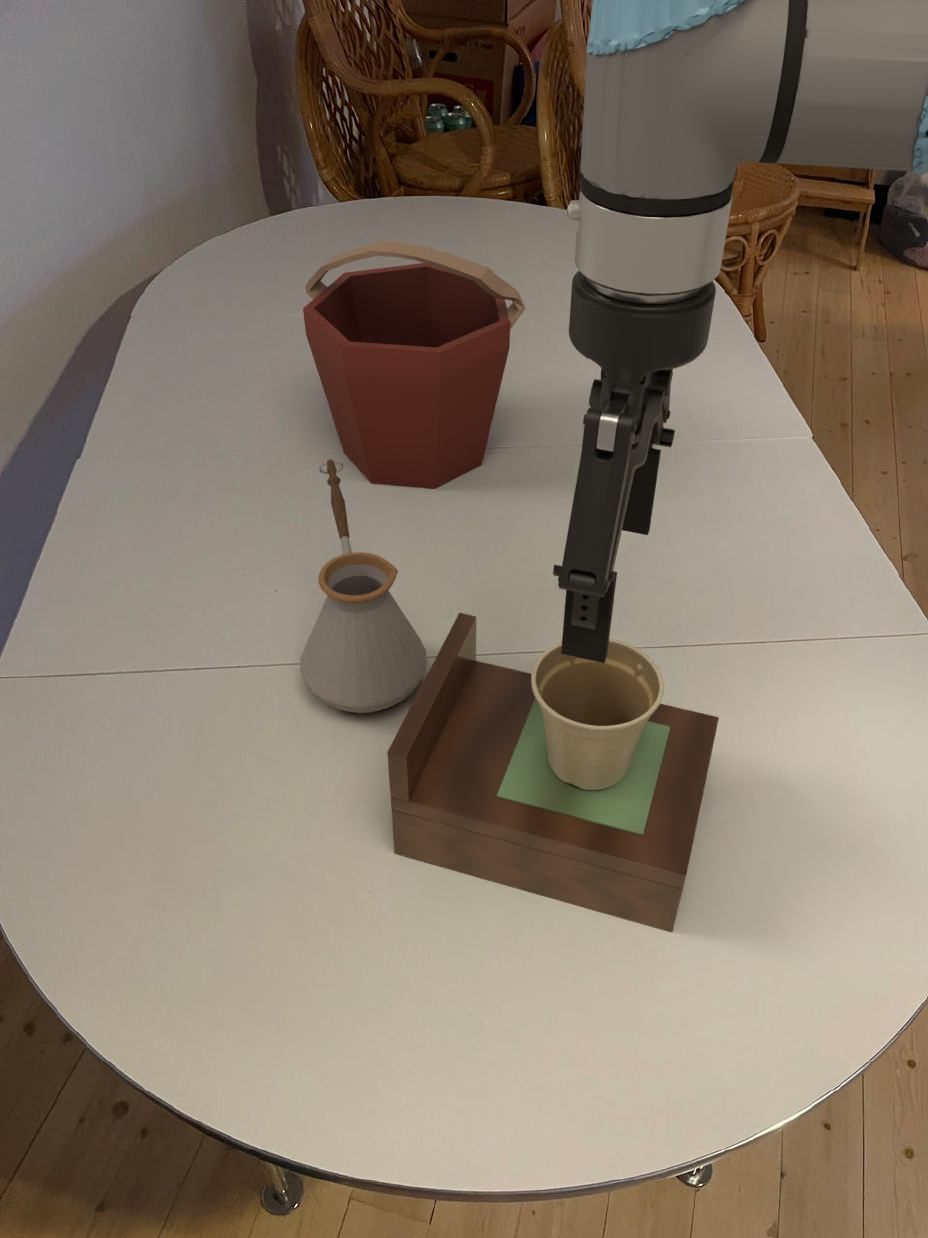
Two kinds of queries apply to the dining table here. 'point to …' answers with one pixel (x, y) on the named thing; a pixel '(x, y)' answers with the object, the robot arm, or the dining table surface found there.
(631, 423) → the robot arm
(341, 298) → the bucket
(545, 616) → the dining table surface
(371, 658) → the coffee pot
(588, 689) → the flower pot
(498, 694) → the plant shelf
